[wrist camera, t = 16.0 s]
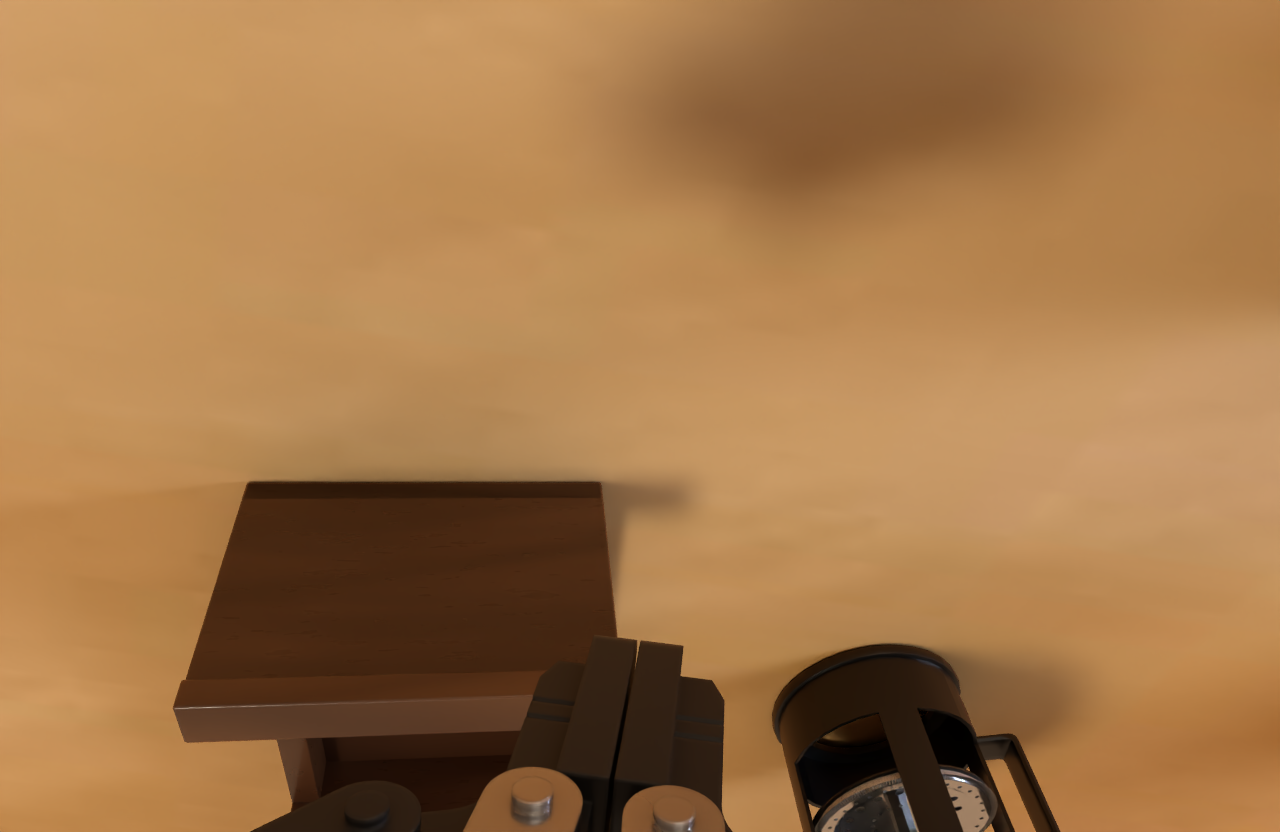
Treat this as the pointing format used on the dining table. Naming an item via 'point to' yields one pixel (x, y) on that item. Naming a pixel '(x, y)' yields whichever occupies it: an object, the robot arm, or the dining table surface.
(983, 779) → the french press
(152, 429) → the dining table surface
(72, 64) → the dining table surface
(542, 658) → the tray
